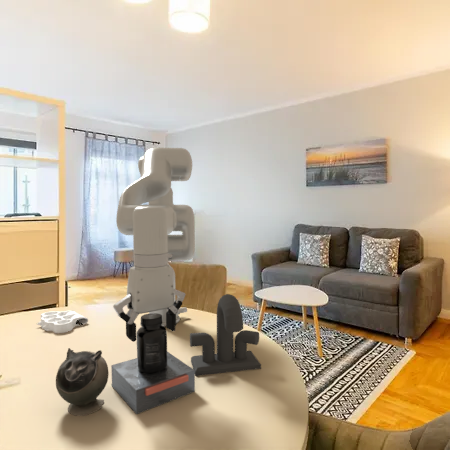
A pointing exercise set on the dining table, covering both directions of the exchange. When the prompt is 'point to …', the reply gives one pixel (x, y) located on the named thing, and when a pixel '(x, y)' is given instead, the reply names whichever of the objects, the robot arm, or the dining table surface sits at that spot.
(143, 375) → the stand
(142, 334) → the supplement bottle
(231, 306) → the faucet
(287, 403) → the dining table surface
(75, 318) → the white flat holed piece
